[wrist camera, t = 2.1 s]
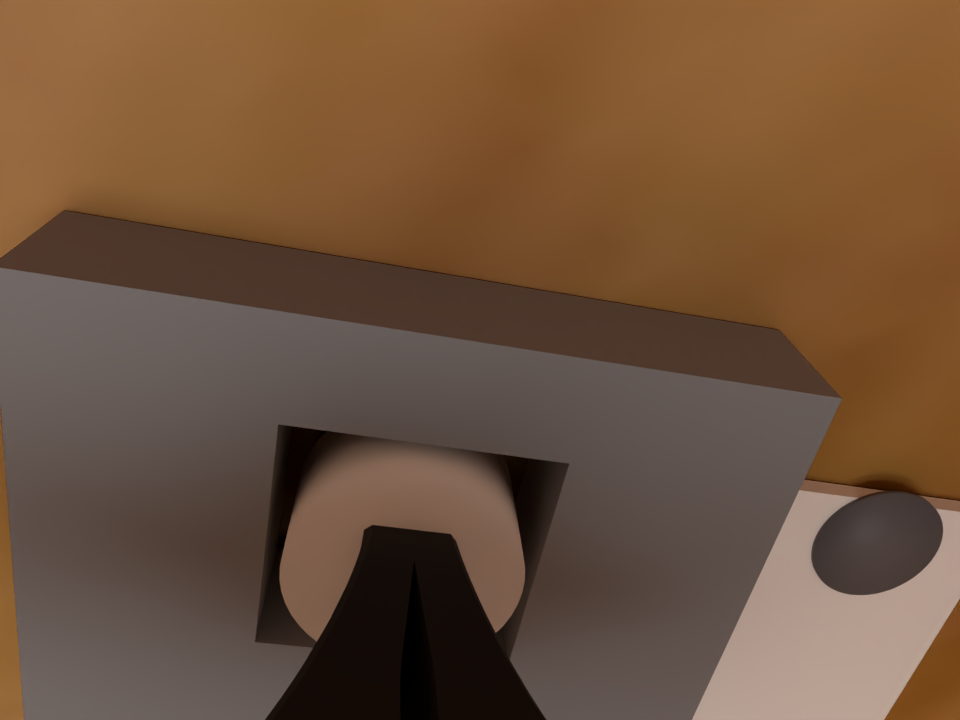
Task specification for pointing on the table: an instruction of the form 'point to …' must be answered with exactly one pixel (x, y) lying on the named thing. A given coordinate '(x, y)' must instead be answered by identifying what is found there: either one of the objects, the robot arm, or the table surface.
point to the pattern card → (840, 607)
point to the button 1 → (398, 519)
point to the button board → (382, 414)
